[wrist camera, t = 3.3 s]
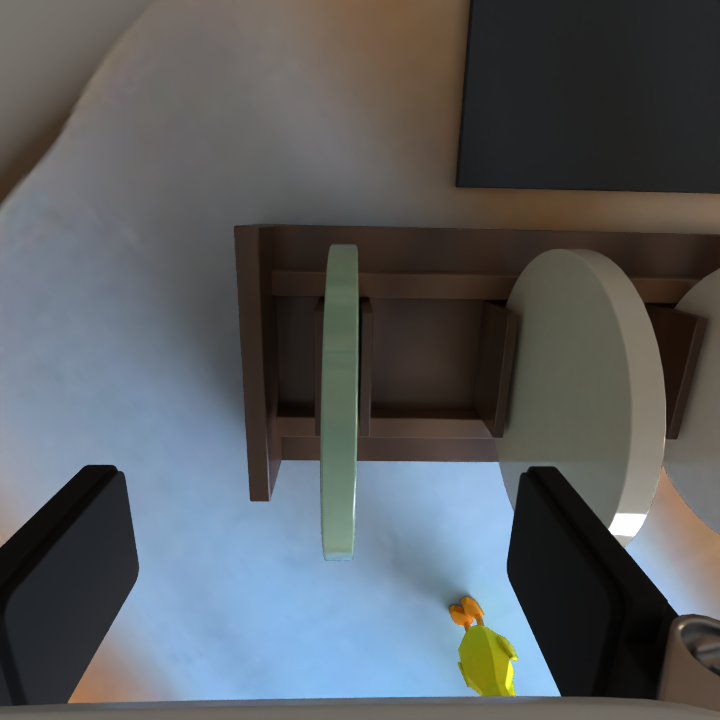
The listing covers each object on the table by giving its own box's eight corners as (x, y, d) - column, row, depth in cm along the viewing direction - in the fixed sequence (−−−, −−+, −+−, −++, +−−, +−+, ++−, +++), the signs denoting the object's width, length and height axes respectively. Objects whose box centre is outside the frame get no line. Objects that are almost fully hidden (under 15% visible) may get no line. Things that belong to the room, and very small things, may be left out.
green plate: (355, 237, 22) (361, 259, 11) (351, 455, 26) (352, 646, 14) (335, 236, 22) (319, 258, 11) (333, 455, 26) (320, 647, 14)
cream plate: (527, 241, 22) (713, 266, 11) (499, 457, 26) (617, 646, 15) (507, 240, 22) (673, 265, 11) (482, 456, 26) (587, 646, 14)
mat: (971, -217, 19) (991, -231, 18) (839, 196, 23) (851, 196, 23) (489, -241, 18) (493, -256, 18) (455, 187, 23) (457, 186, 22)
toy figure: (413, 594, 31) (451, 819, 19) (453, 564, 30) (517, 779, 19) (475, 648, 32) (544, 885, 21) (515, 620, 32) (609, 851, 20)
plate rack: (752, 234, 24) (857, 239, 19) (692, 454, 28) (766, 505, 23) (258, 223, 23) (233, 225, 18) (267, 450, 27) (249, 502, 22)
